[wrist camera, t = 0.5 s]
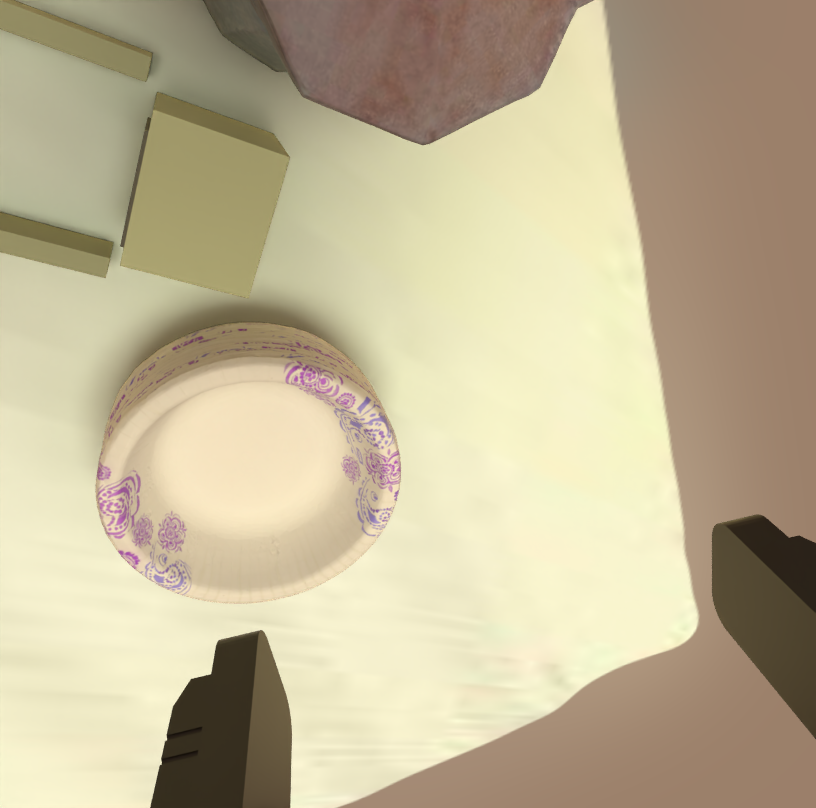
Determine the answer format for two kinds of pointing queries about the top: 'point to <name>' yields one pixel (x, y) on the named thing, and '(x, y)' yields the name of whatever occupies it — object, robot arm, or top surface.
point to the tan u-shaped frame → (164, 180)
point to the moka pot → (403, 54)
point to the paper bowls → (246, 464)
